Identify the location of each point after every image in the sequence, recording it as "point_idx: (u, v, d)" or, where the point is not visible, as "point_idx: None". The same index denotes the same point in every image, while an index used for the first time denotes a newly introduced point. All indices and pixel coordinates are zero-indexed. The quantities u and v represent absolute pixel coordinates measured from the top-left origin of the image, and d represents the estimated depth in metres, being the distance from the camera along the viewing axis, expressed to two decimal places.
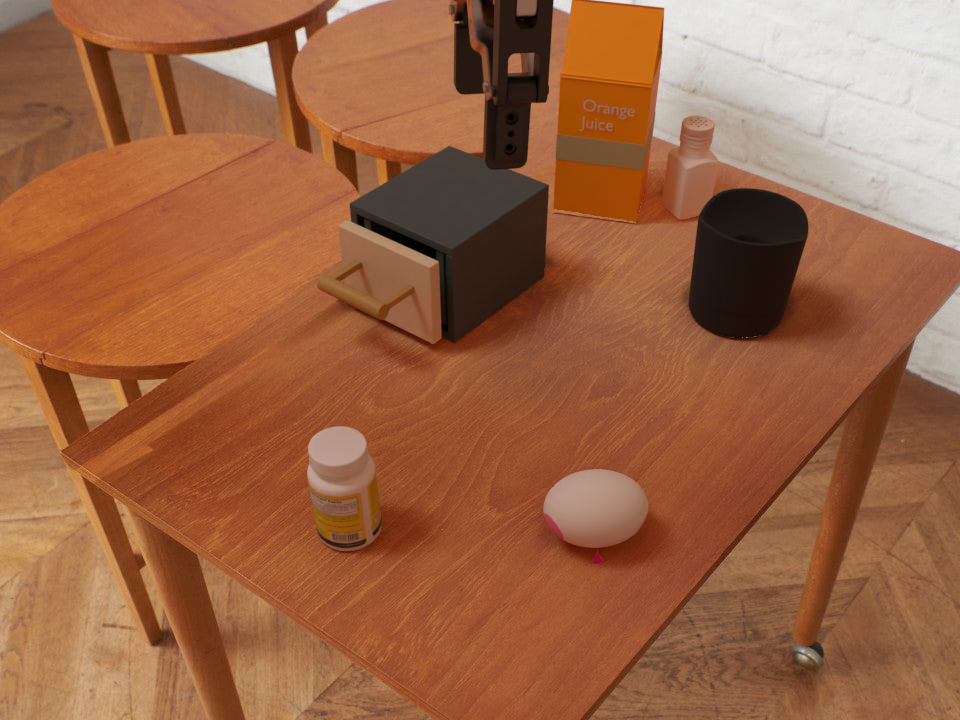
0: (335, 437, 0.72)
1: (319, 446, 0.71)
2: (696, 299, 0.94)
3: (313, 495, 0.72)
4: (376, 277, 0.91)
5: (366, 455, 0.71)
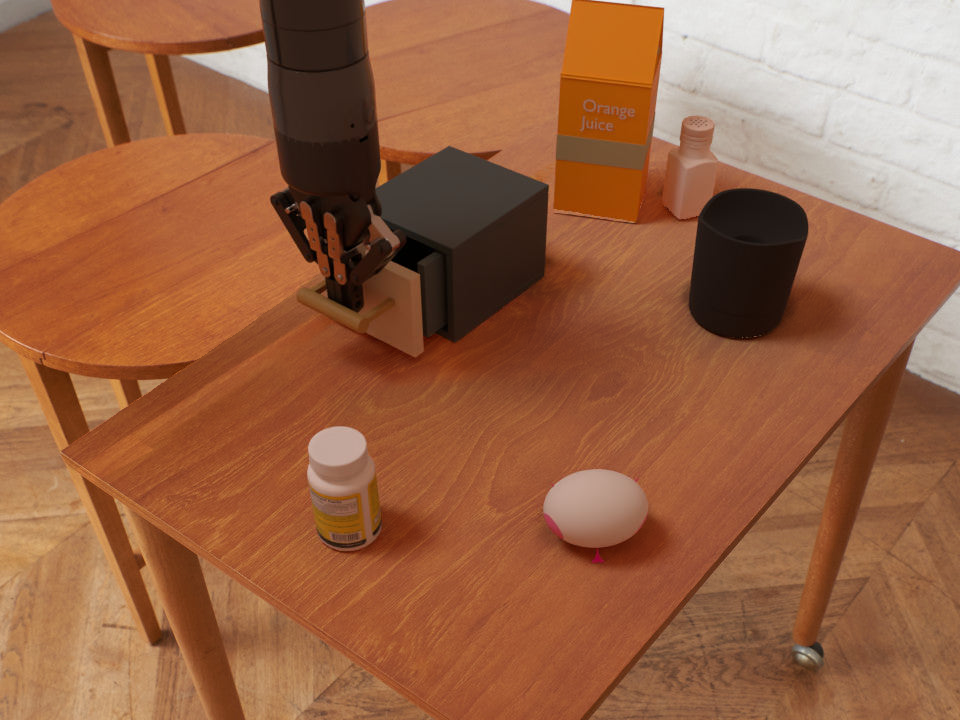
0: (335, 437, 0.72)
1: (319, 446, 0.71)
2: (696, 299, 0.94)
3: (313, 495, 0.72)
4: None
5: (366, 455, 0.71)
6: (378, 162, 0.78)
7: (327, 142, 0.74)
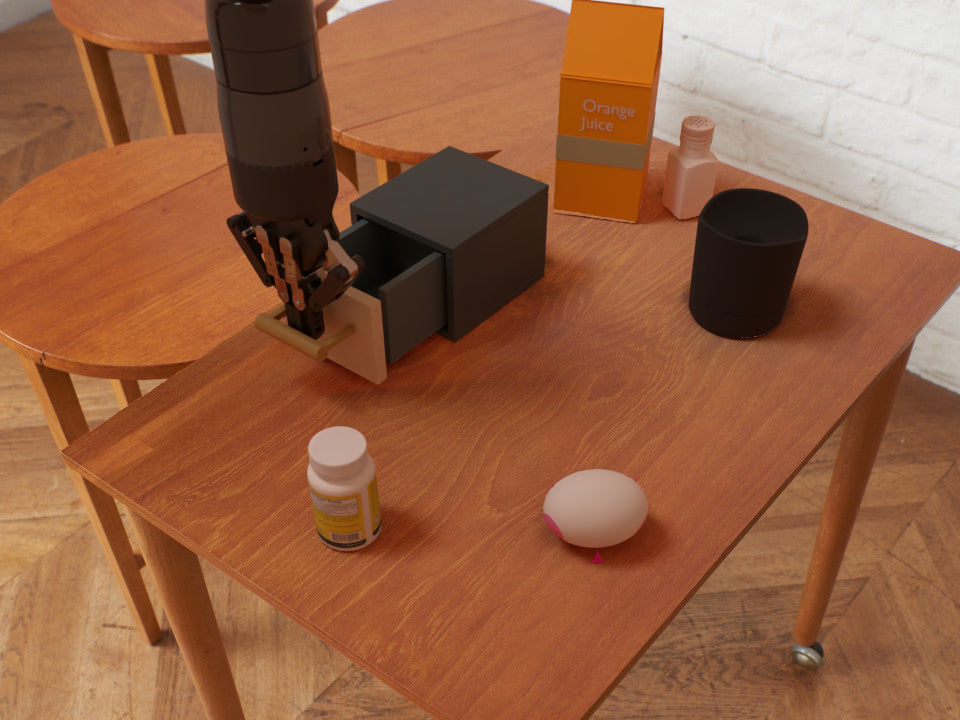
0: (335, 437, 0.72)
1: (319, 446, 0.71)
2: (696, 299, 0.94)
3: (313, 495, 0.72)
4: None
5: (366, 455, 0.71)
6: (335, 186, 0.75)
7: (279, 166, 0.71)
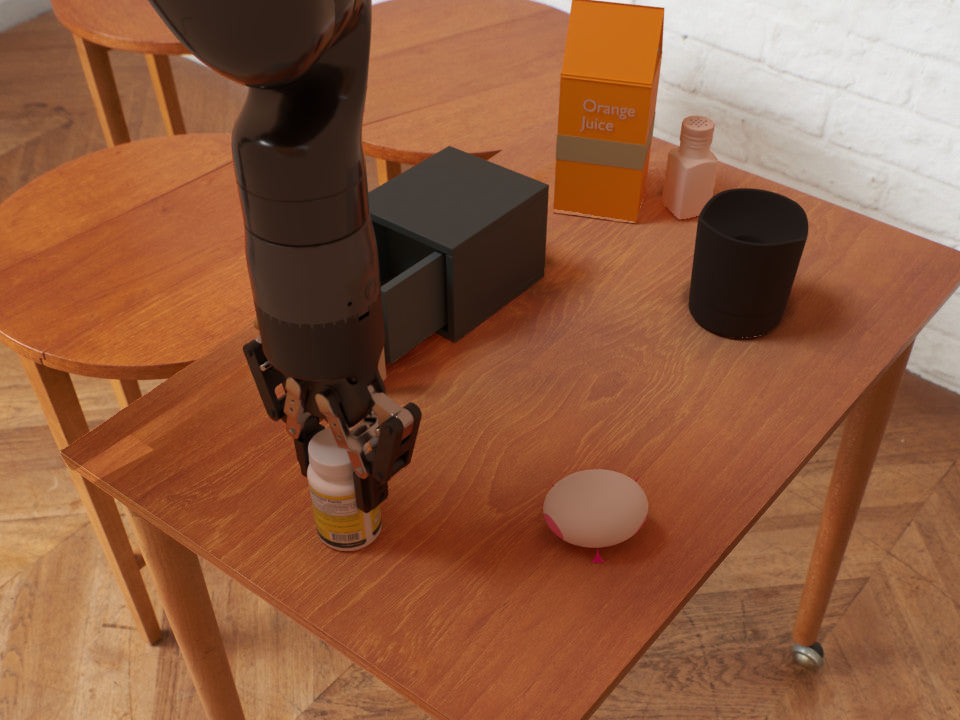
0: None
1: (319, 446, 0.71)
2: (696, 299, 0.94)
3: (312, 495, 0.72)
4: None
5: None
6: (381, 336, 0.64)
7: (318, 324, 0.59)
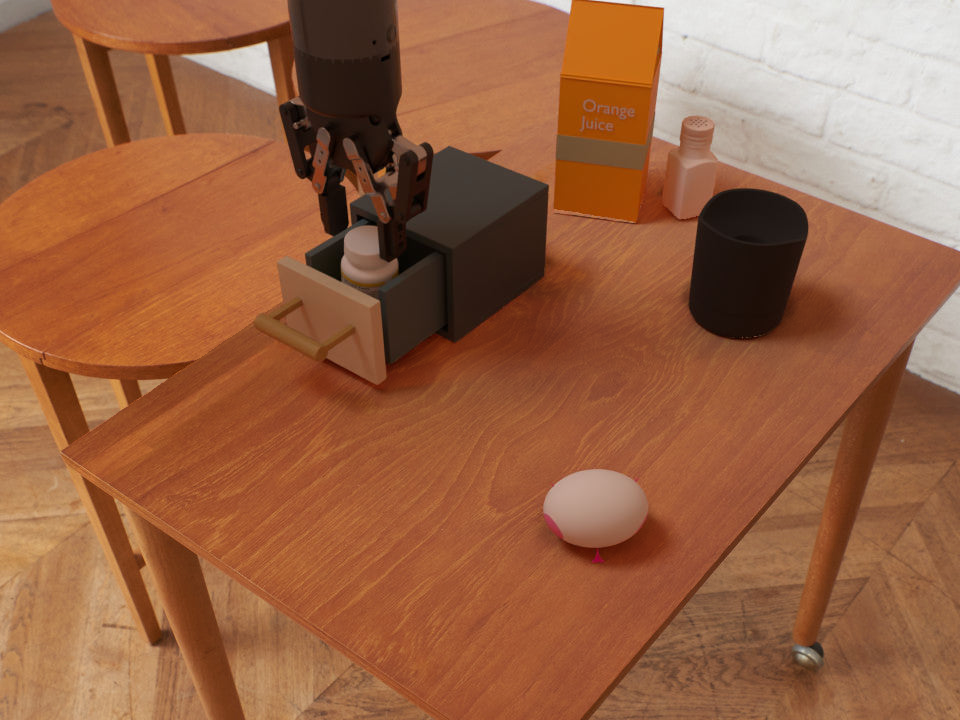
0: (366, 233, 0.85)
1: (353, 239, 0.85)
2: (696, 299, 0.94)
3: (345, 282, 0.86)
4: (317, 315, 0.87)
5: None
6: (399, 85, 0.76)
7: (348, 59, 0.71)
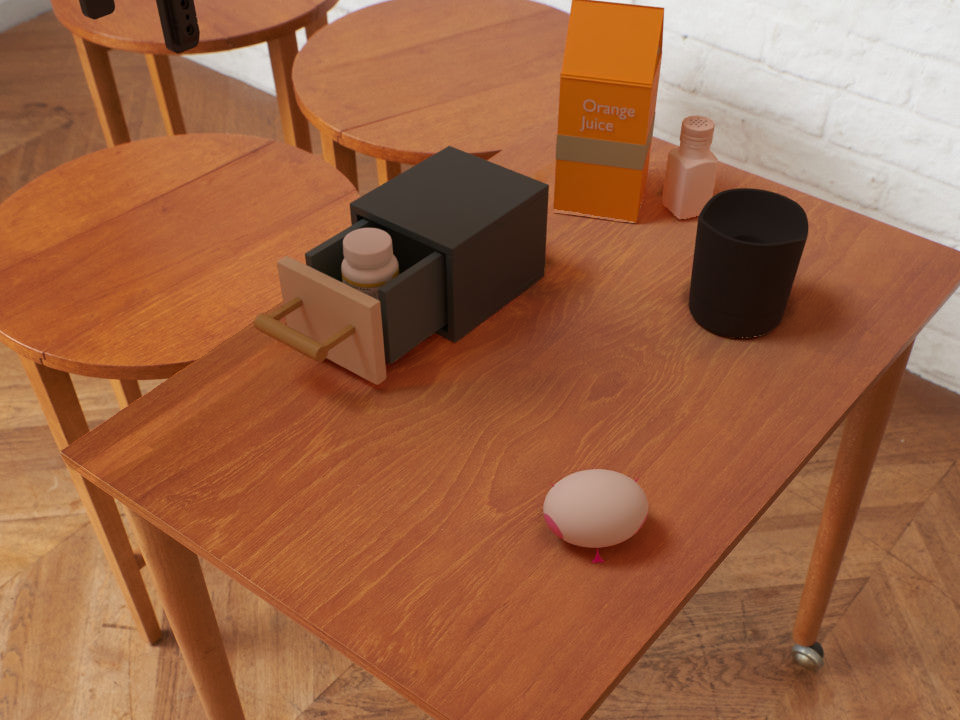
0: (365, 235, 0.86)
1: (352, 241, 0.85)
2: (696, 299, 0.94)
3: None
4: (317, 315, 0.87)
5: (391, 249, 0.85)
6: None
7: None
